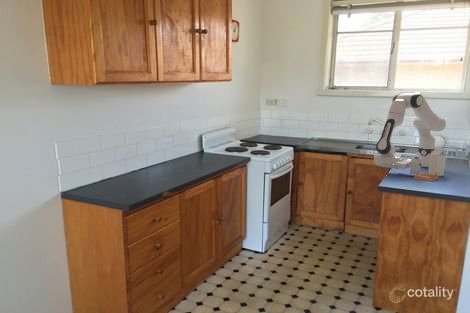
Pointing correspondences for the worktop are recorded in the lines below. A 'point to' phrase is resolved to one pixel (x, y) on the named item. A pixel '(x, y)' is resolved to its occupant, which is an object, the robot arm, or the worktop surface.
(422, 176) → the coupler
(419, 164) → the lock
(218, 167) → the worktop surface
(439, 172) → the milk carton
